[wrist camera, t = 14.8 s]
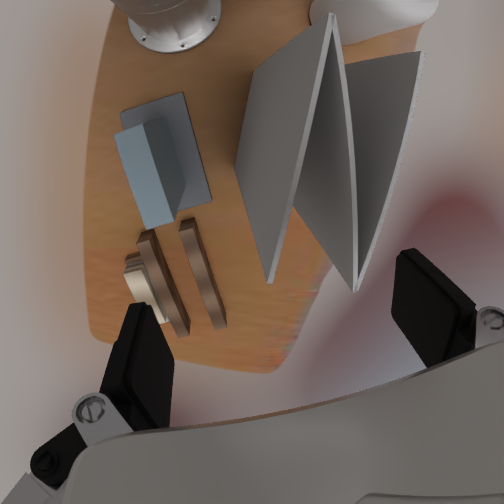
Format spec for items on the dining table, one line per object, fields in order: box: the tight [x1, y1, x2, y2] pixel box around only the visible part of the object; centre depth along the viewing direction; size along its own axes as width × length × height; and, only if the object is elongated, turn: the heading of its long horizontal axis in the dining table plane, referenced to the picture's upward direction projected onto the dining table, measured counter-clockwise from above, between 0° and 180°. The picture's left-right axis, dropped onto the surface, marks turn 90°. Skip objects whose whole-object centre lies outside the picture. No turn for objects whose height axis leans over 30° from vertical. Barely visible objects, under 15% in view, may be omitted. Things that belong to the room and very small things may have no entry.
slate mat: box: [120, 92, 212, 211], centre depth 41 cm, size 16×9×1 cm, turn 13°
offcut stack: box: [123, 252, 170, 324], centre depth 48 cm, size 12×4×5 cm, turn 13°
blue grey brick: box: [113, 117, 186, 230], centre depth 34 cm, size 10×3×14 cm, turn 13°
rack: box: [136, 218, 227, 338], centre depth 48 cm, size 18×8×4 cm, turn 13°
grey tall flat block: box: [234, 12, 425, 293], centre depth 28 cm, size 14×6×30 cm, turn 169°
